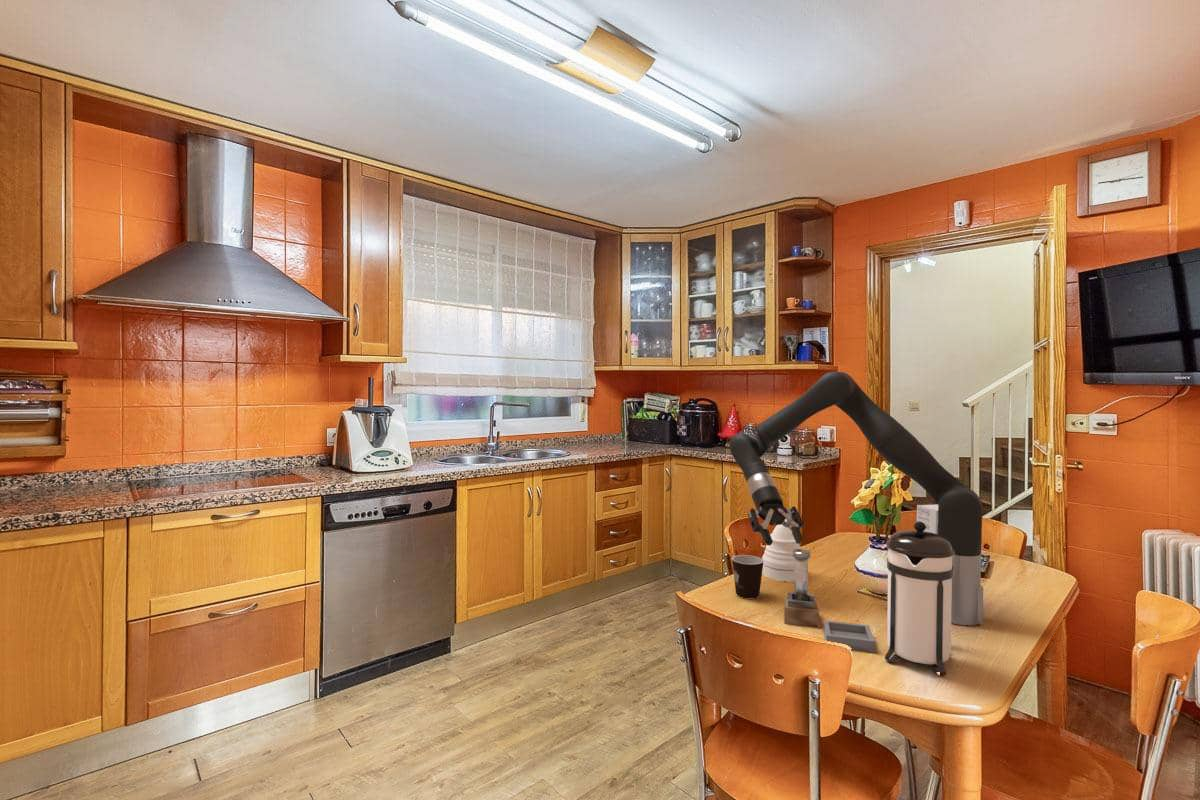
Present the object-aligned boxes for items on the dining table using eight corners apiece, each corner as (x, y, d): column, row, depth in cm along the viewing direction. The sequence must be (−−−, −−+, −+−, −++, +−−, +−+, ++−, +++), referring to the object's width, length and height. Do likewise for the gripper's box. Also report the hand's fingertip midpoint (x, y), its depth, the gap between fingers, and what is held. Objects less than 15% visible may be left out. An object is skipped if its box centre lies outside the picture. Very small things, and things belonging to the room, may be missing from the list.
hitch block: (816, 614, 149) (817, 593, 149) (818, 627, 142) (819, 605, 142) (784, 611, 152) (784, 590, 152) (784, 623, 144) (784, 601, 144)
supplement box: (934, 559, 197) (935, 510, 196) (914, 551, 206) (915, 504, 205) (959, 557, 199) (959, 508, 198) (938, 550, 208) (938, 503, 207)
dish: (868, 635, 137) (868, 625, 137) (874, 652, 128) (874, 641, 128) (823, 630, 140) (823, 620, 140) (826, 646, 131) (826, 635, 131)
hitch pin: (809, 601, 148) (810, 550, 148) (810, 607, 144) (810, 554, 144) (792, 599, 149) (792, 548, 149) (792, 605, 145) (792, 553, 145)
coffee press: (980, 675, 118) (983, 529, 117) (905, 678, 117) (908, 531, 116) (926, 638, 136) (928, 510, 135) (860, 640, 134) (862, 512, 133)
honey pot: (781, 566, 189) (782, 511, 189) (814, 577, 178) (814, 519, 178) (753, 572, 183) (753, 516, 182) (785, 585, 172) (786, 524, 171)
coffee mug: (764, 601, 159) (764, 565, 158) (732, 599, 160) (732, 563, 160) (761, 586, 170) (761, 553, 170) (731, 584, 172) (731, 551, 171)
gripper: (745, 485, 161) (765, 537, 150) (791, 483, 164) (815, 534, 153) (736, 500, 166) (755, 551, 155) (781, 498, 169) (803, 548, 158)
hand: (785, 543), depth 154 cm, fingers open, 8 cm apart
